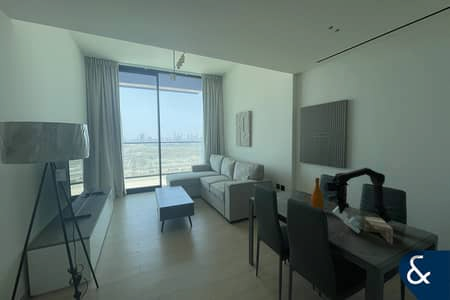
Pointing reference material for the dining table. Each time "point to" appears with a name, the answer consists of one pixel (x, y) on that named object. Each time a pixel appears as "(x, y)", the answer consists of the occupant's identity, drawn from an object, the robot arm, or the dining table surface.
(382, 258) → the dining table surface
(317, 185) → the wine bottle
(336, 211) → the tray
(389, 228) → the cream wedge slab
